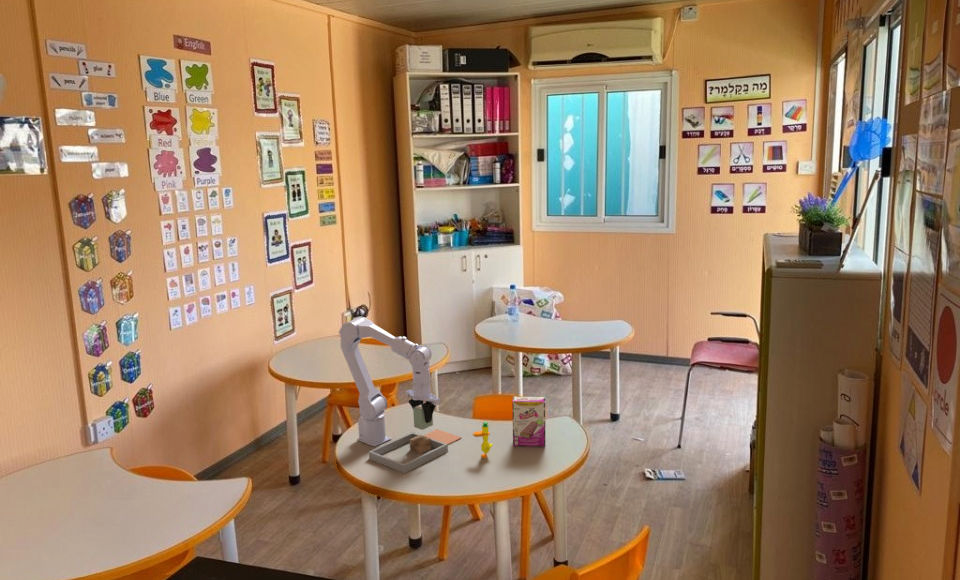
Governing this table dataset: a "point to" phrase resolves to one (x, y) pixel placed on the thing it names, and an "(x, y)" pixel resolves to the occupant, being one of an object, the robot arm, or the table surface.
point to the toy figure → (484, 439)
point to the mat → (442, 436)
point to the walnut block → (420, 444)
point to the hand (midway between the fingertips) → (423, 420)
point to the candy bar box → (529, 421)
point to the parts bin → (377, 456)
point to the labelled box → (420, 418)
